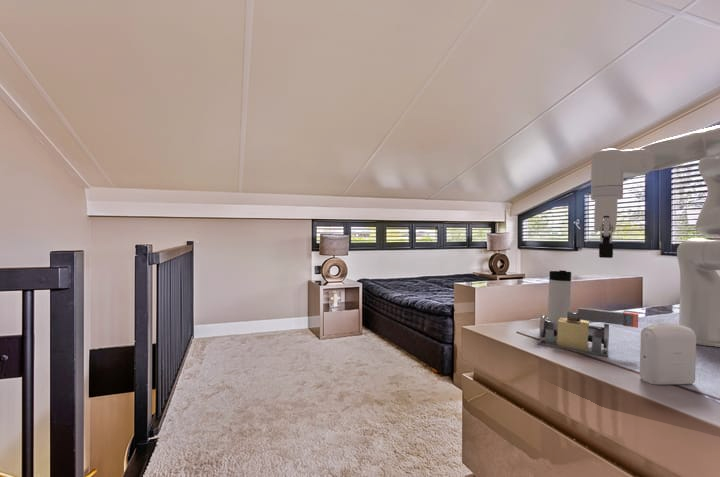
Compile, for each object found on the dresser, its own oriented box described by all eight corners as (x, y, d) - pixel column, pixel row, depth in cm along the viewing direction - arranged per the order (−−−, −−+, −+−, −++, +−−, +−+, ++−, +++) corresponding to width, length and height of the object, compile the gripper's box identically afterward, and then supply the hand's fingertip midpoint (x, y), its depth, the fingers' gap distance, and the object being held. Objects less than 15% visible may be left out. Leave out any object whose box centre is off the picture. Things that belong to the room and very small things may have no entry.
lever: (566, 320, 96) (567, 306, 96) (567, 318, 99) (567, 305, 99) (638, 329, 88) (638, 314, 88) (636, 326, 91) (636, 312, 91)
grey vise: (607, 347, 96) (608, 321, 96) (608, 357, 88) (609, 328, 88) (543, 336, 106) (544, 312, 106) (538, 344, 97) (539, 318, 97)
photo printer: (654, 386, 71) (656, 325, 71) (635, 377, 75) (637, 320, 75) (699, 385, 72) (701, 326, 72) (678, 377, 76) (680, 321, 76)
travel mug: (550, 332, 111) (552, 270, 111) (545, 327, 117) (547, 268, 117) (572, 334, 109) (574, 271, 109) (566, 329, 115) (568, 269, 115)
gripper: (591, 197, 108) (591, 255, 108) (590, 191, 96) (589, 258, 96) (621, 195, 103) (621, 256, 104) (624, 189, 91) (623, 259, 91)
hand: (605, 257), depth 100 cm, fingers closed
